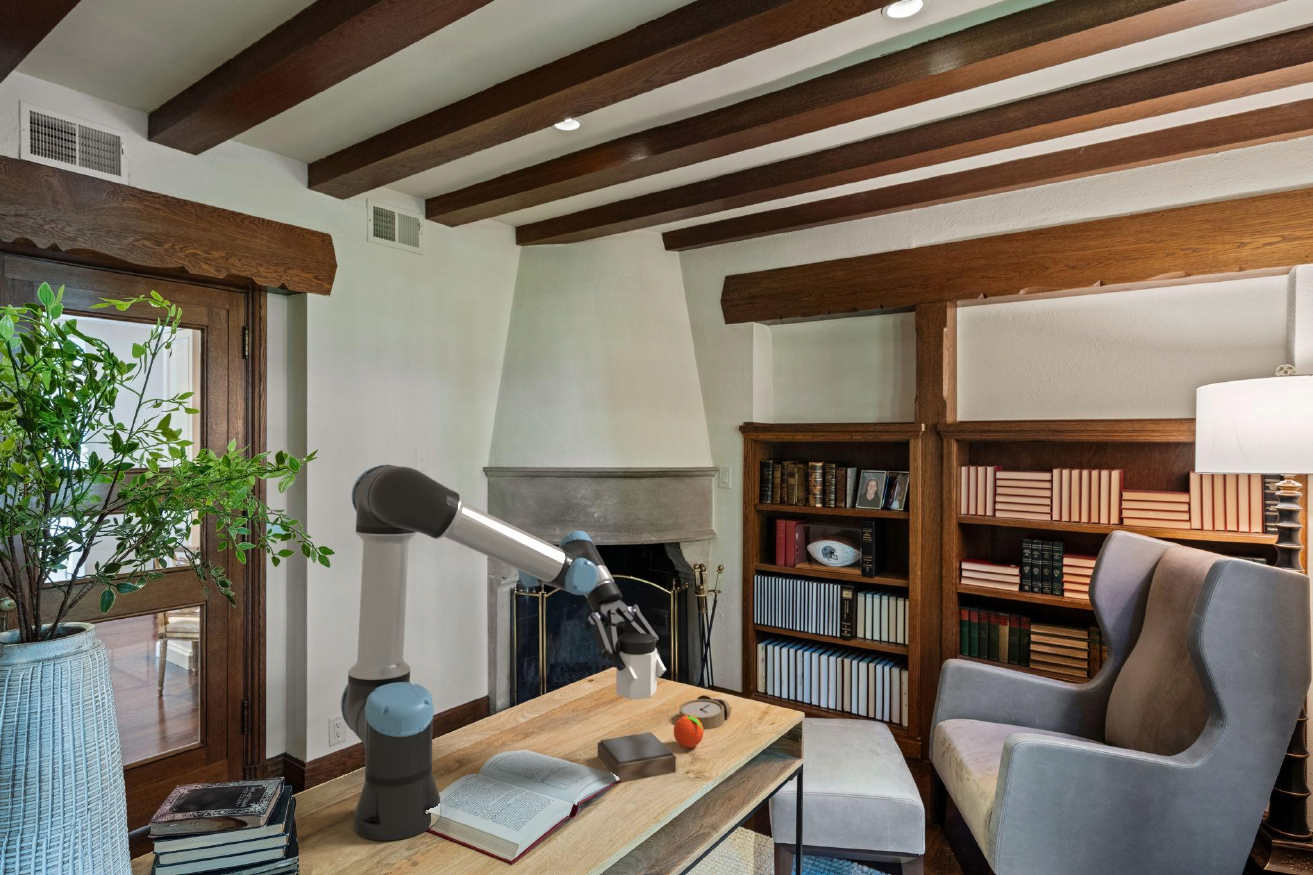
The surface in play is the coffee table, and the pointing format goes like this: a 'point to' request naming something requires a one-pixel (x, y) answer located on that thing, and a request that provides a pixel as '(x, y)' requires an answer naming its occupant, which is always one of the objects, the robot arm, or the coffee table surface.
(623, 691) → the jar
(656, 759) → the stand
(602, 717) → the coffee table surface
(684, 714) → the alarm clock
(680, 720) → the clementine
